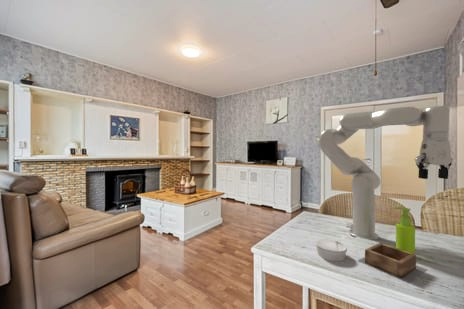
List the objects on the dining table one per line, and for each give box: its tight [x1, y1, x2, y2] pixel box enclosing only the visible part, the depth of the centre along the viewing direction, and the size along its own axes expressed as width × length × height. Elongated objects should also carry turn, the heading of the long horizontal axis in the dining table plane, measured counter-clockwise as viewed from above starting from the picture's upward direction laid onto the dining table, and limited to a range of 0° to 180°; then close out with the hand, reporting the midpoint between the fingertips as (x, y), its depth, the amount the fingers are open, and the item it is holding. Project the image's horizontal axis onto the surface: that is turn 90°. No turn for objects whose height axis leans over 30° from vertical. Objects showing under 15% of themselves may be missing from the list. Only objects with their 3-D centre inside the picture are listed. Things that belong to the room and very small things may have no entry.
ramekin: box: [315, 238, 348, 262], centre depth 85 cm, size 11×11×5 cm
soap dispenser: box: [392, 206, 416, 255], centre depth 85 cm, size 6×7×20 cm
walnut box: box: [364, 242, 417, 279], centre depth 77 cm, size 11×11×5 cm
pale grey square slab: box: [357, 256, 428, 284], centre depth 77 cm, size 16×15×1 cm
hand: (433, 178), depth 87 cm, fingers open, 9 cm apart
